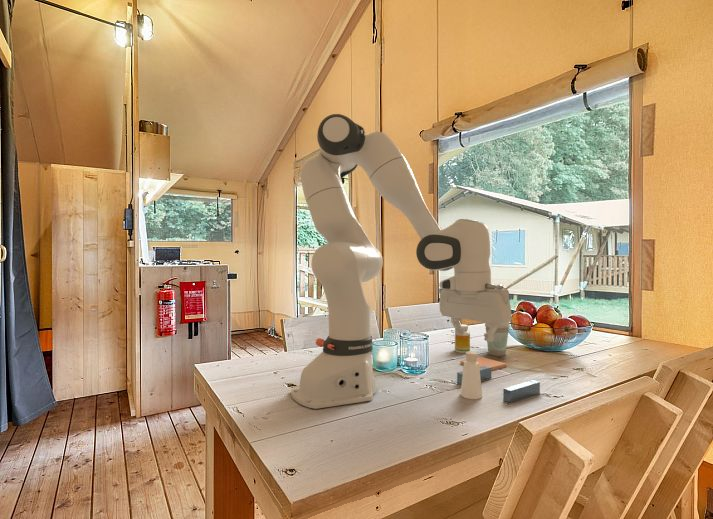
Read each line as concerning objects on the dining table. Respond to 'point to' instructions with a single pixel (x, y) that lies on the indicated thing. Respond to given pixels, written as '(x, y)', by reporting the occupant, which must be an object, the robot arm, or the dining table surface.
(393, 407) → the dining table surface
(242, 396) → the dining table surface
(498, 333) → the coffee cup
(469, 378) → the pepper shaker
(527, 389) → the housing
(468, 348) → the supplement bottle
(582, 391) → the dining table surface
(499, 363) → the mat
